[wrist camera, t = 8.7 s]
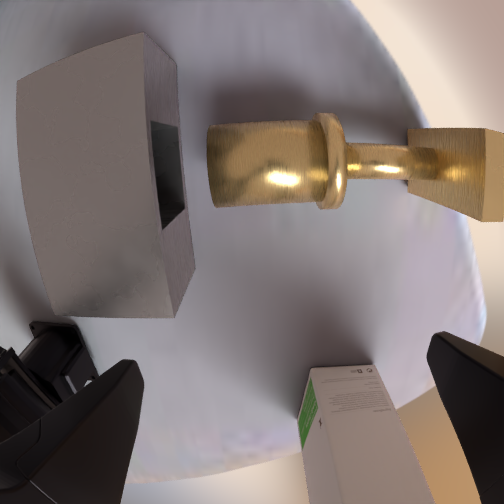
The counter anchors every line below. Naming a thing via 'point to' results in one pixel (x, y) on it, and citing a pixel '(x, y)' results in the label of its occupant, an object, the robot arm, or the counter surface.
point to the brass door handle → (353, 165)
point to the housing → (106, 181)
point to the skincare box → (356, 441)
